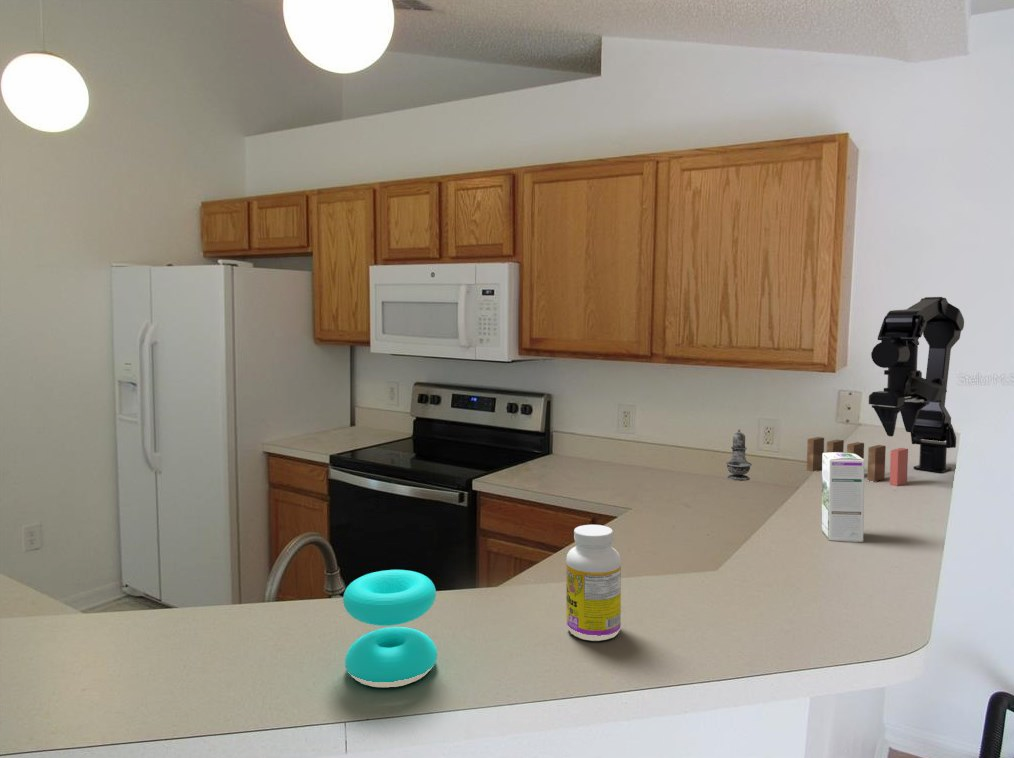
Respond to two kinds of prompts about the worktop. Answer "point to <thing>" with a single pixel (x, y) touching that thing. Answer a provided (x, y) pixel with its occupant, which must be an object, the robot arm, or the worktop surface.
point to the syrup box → (842, 496)
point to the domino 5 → (898, 466)
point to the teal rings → (390, 604)
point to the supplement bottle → (593, 582)
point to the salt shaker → (738, 459)
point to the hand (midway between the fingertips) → (899, 434)
